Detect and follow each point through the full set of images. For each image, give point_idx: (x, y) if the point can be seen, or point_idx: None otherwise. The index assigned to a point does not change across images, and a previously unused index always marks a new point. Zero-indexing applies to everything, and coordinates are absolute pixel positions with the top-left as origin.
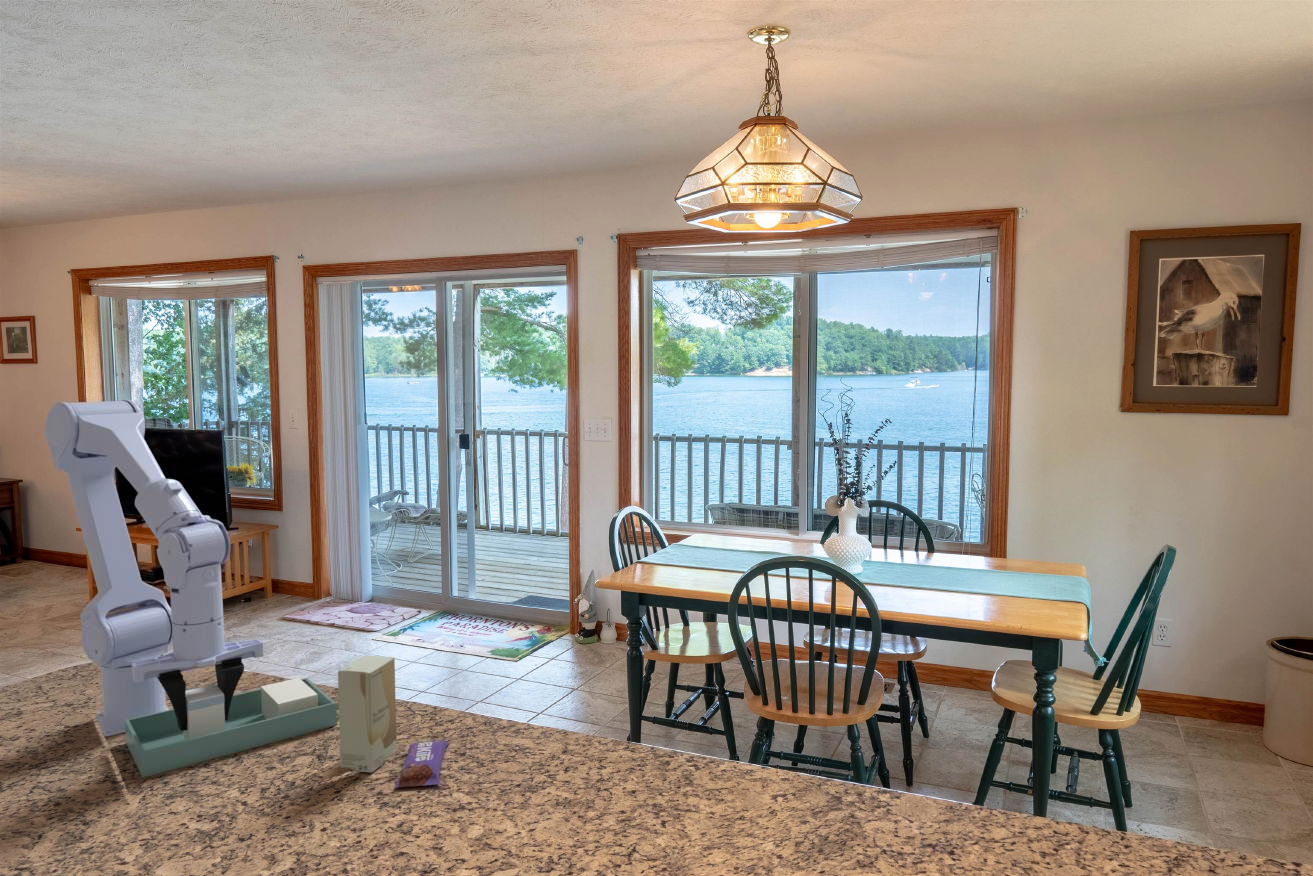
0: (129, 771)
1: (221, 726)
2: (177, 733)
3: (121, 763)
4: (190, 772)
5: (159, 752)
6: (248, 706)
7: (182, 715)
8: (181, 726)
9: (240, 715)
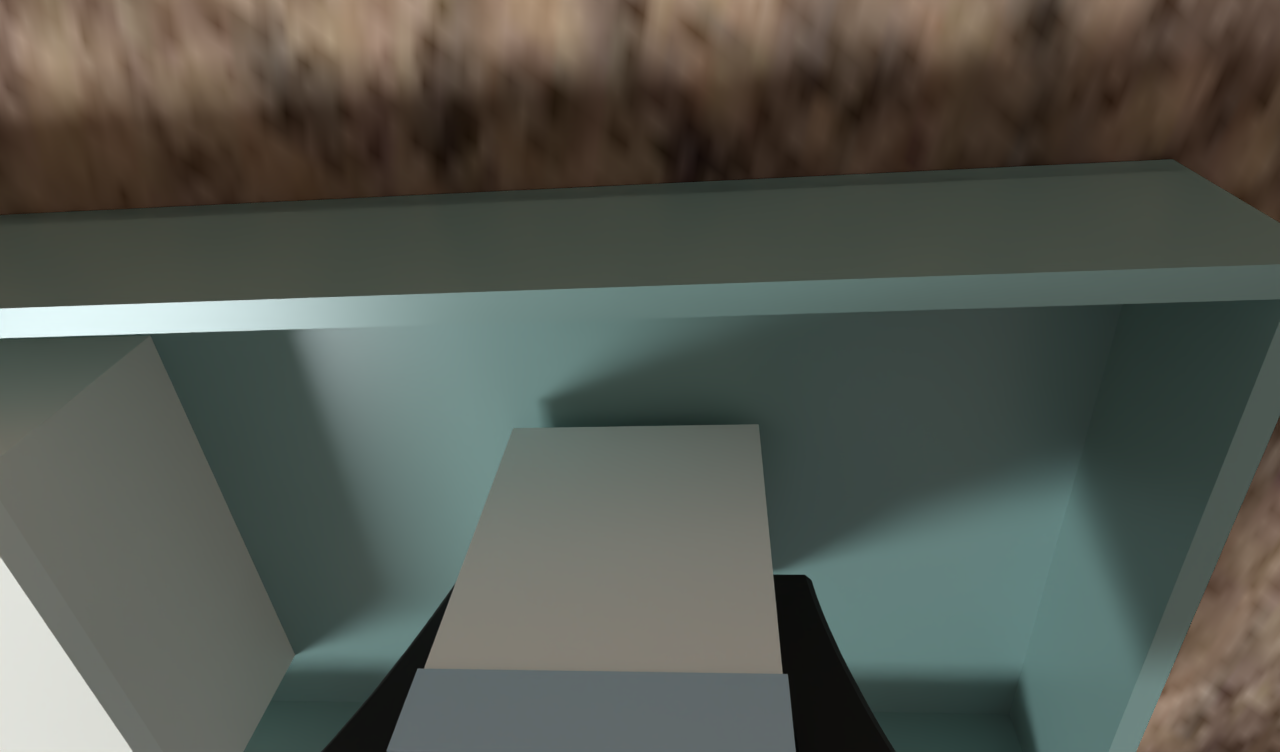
0: None
1: (515, 497)
2: None
3: None
4: (826, 106)
5: (1129, 249)
6: None
7: (821, 677)
8: (815, 601)
9: None
